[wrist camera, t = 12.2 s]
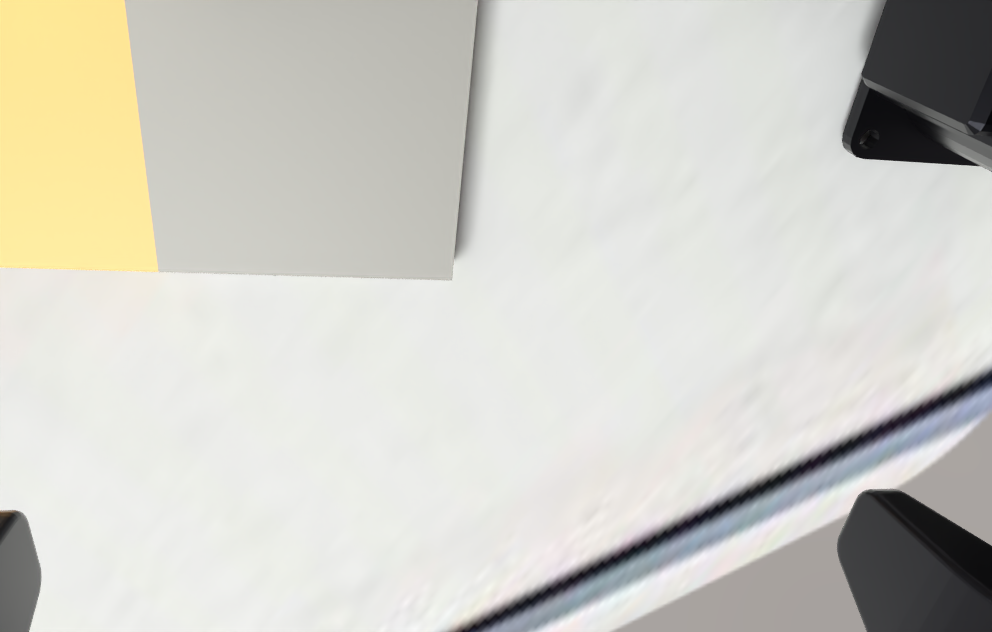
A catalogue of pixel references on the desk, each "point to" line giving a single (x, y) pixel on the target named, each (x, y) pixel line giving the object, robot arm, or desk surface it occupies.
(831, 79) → the desk surface
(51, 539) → the desk surface
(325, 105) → the grey flat board
